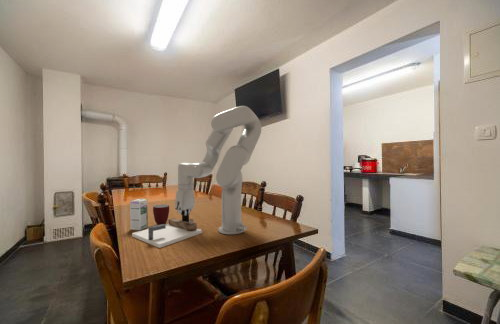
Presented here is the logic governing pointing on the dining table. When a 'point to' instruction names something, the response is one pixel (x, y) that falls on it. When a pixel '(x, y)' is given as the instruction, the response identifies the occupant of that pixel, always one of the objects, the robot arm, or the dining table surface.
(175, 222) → the walnut link
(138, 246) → the dining table surface
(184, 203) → the robot arm
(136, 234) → the pintle board
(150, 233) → the block
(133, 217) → the syrup box
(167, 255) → the dining table surface
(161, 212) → the mug
